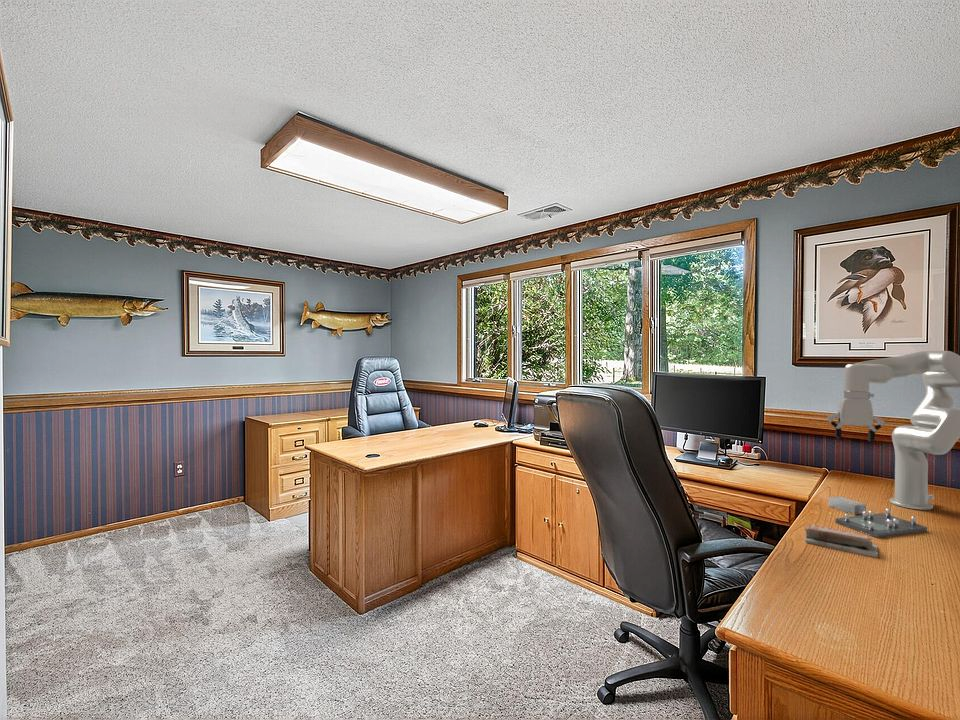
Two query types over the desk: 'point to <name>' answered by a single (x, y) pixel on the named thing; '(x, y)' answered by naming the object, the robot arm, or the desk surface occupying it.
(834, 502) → the block
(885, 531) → the tray
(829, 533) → the packaged product
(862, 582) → the desk surface
